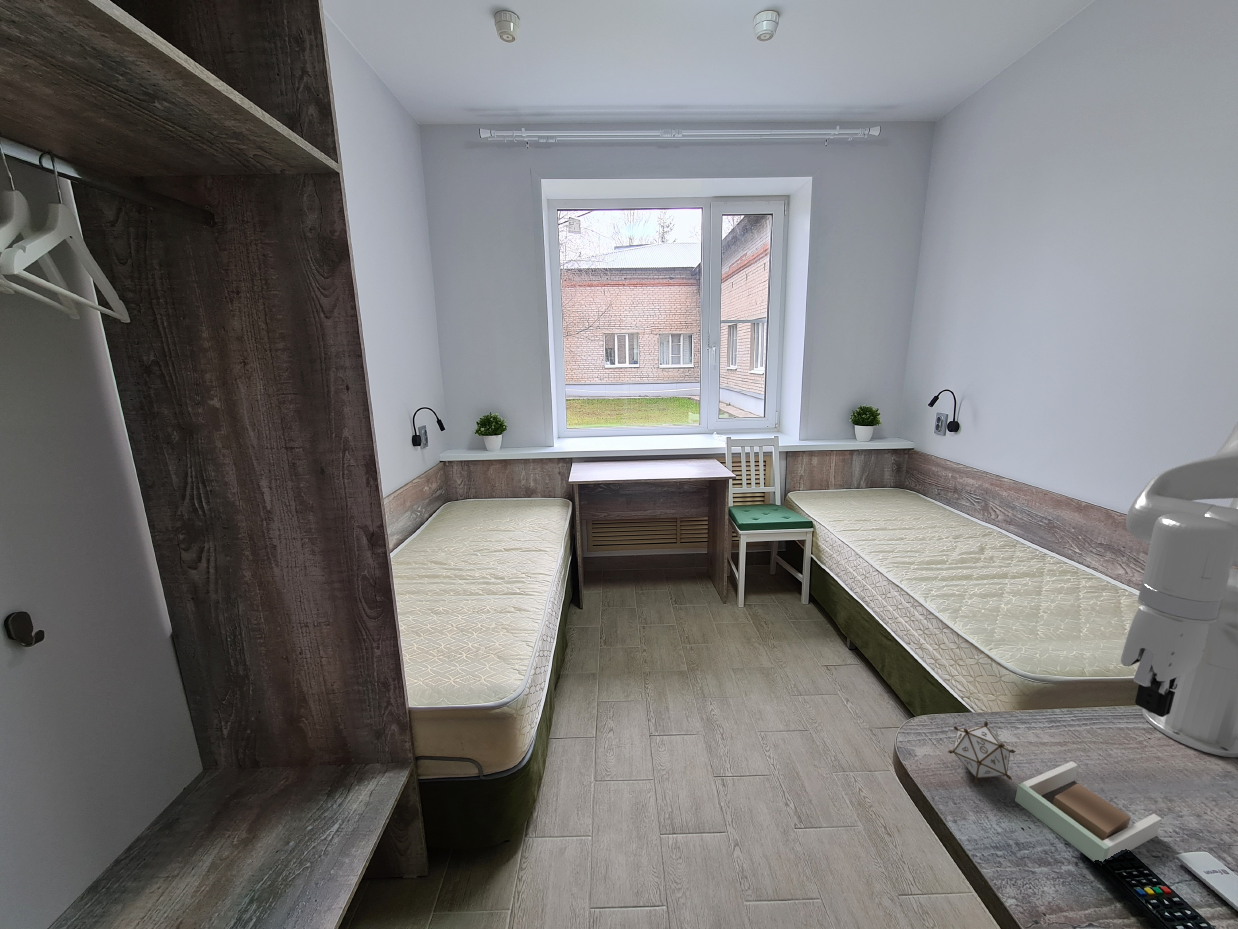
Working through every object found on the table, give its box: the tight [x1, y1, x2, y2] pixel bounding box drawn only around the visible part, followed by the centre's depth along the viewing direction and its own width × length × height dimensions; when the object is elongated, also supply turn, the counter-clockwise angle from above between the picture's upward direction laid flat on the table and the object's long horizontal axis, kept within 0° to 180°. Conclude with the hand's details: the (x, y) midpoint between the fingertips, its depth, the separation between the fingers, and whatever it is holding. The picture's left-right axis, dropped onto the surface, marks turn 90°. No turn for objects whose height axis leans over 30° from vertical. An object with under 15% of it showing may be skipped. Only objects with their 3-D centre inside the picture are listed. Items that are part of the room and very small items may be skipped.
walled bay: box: [1014, 760, 1162, 862], centre depth 71 cm, size 13×11×3 cm
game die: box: [947, 720, 1016, 785], centre depth 79 cm, size 9×8×10 cm
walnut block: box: [1052, 783, 1131, 841], centre depth 70 cm, size 6×6×4 cm
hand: (1151, 709), depth 72 cm, fingers closed
